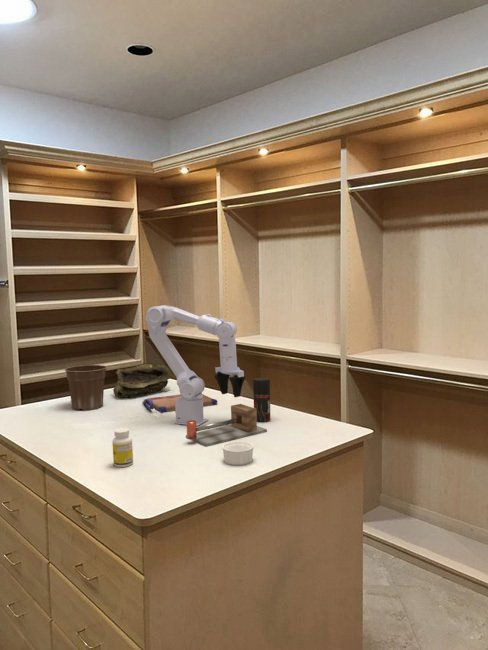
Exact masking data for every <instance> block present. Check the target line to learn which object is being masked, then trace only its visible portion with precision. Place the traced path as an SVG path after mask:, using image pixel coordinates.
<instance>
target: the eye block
mask: <svg viewBox="0 0 488 650" xmlns="http://www.w3.org/2000/svg"><path fill="white" fill-rule="evenodd" d="M230 416H231V417H230V420H231V419H235V420H236V423H233V424H228V425H224V426H219V427H215V428H210V429H206V430H201V431H197V432H196V433H197V438H196V439H189V440H191V442H192V441H193V442H194V443H196V444H199V445H201V446H203V447H209V446H210V447H211V446H214V445H218V444H222V443H223V444H224V443H228V442H232V441H236V440H238V439H242V438H247V437H251V436H256V435H260V434H263V433H268V429H267V428H264V427H261V426H258V422H257V409H256V408H254V407H251V406H249V405H246V404H242V403H237V404H233V405H230ZM185 438H186V439H187V434H186V435H185Z"/></svg>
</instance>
